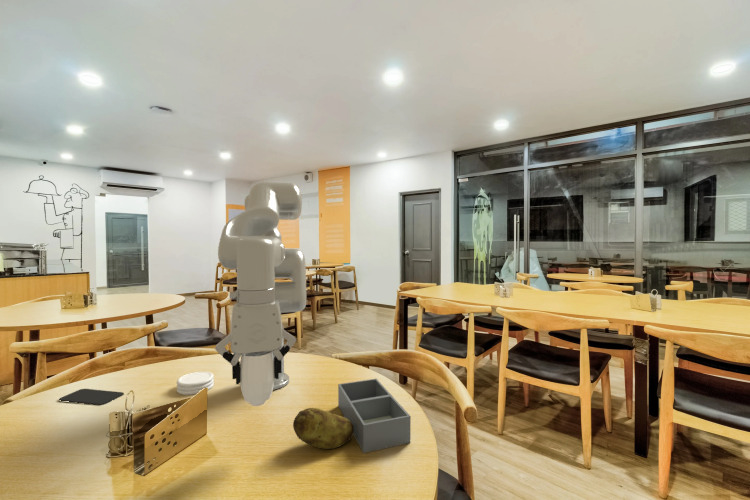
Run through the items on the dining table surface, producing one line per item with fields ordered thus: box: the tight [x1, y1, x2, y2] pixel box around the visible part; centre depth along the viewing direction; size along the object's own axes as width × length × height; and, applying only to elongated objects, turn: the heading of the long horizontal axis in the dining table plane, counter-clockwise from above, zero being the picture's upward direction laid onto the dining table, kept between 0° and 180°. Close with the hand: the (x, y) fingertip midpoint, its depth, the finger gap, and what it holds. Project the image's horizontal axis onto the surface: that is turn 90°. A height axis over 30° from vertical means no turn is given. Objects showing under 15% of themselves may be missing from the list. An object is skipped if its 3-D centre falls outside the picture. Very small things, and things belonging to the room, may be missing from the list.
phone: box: [58, 388, 125, 406], centre depth 100 cm, size 7×1×15 cm
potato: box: [292, 407, 354, 450], centre depth 77 cm, size 8×13×8 cm, turn 87°
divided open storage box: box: [337, 378, 412, 454], centre depth 87 cm, size 22×11×6 cm, turn 20°
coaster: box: [176, 371, 215, 396], centre depth 107 cm, size 10×10×4 cm
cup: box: [239, 351, 275, 407], centre depth 75 cm, size 7×7×21 cm
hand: (257, 378), depth 75 cm, fingers closed on cup, 7 cm apart
